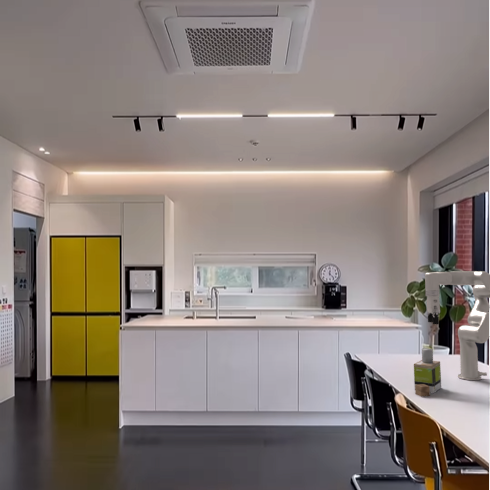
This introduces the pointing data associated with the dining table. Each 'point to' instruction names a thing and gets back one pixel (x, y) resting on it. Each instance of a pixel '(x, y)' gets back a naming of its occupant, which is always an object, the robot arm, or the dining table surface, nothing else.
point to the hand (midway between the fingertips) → (433, 323)
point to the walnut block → (422, 390)
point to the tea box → (428, 374)
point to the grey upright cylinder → (427, 355)
